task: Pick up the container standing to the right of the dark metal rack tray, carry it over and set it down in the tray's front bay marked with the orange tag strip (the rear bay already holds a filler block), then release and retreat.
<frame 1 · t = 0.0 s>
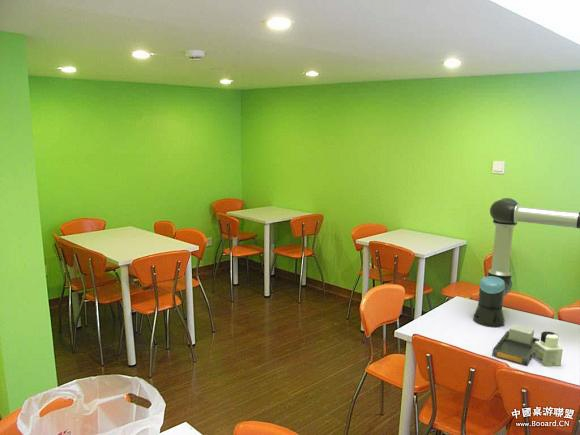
container: (546, 362, 195), on the table
filler block: (520, 344, 211), resting on rack tray
rack tray: (516, 350, 205), on the table
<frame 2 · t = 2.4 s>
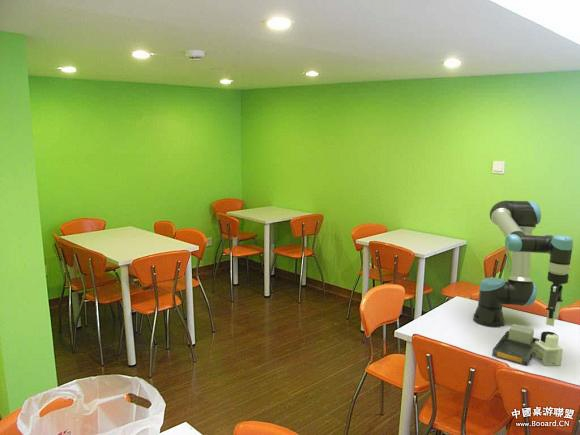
hand: (552, 320, 192), 19 cm above the table, fingers open, 13 cm apart
nothing on the table moved.
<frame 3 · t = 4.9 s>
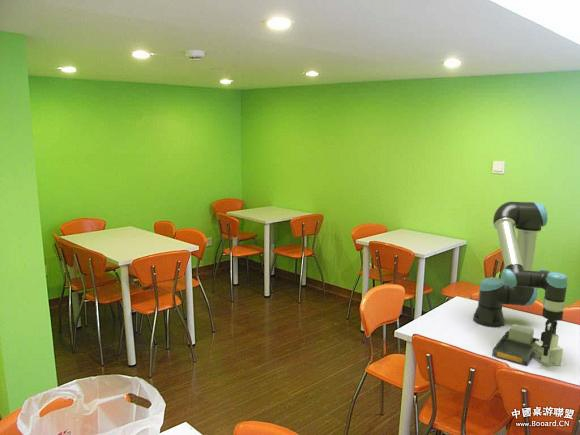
hand: (547, 357, 195), 2 cm above the table, fingers closed on container, 11 cm apart
container: (546, 361, 195), on the table, touching gripper
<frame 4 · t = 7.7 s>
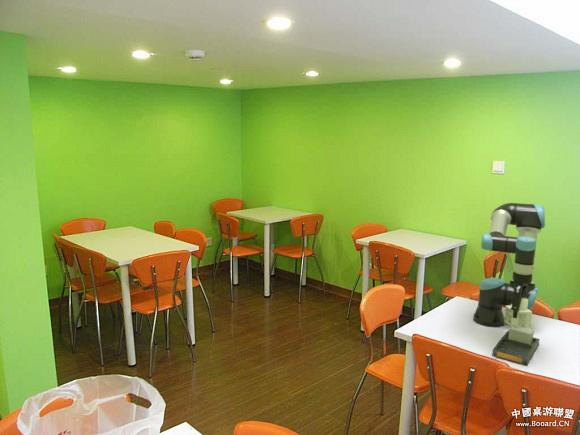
hand: (517, 320, 199), 16 cm above the table, fingers closed on container, 10 cm apart
container: (516, 325, 199), point 14 cm above the table, touching gripper
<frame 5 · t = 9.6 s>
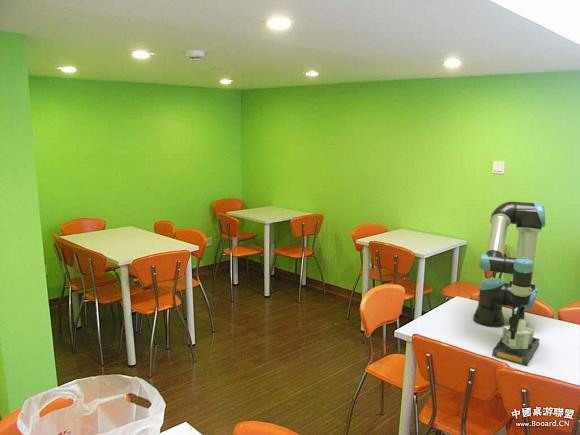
hand: (515, 341, 200), 6 cm above the table, fingers closed on container, 10 cm apart
container: (514, 345, 201), point 4 cm above the table, touching gripper
when the fingers open (5 cm above the table, at t = 10.9 s): container drops 1 cm, resting on rack tray.
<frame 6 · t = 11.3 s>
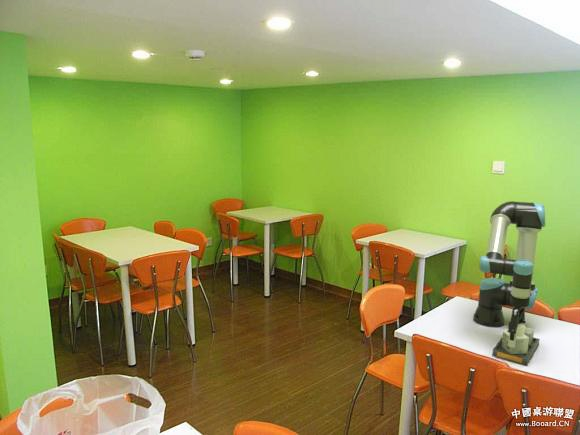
hand: (515, 341, 200), 6 cm above the table, fingers open, 13 cm apart
container: (514, 350, 201), point 2 cm above the table, touching rack tray
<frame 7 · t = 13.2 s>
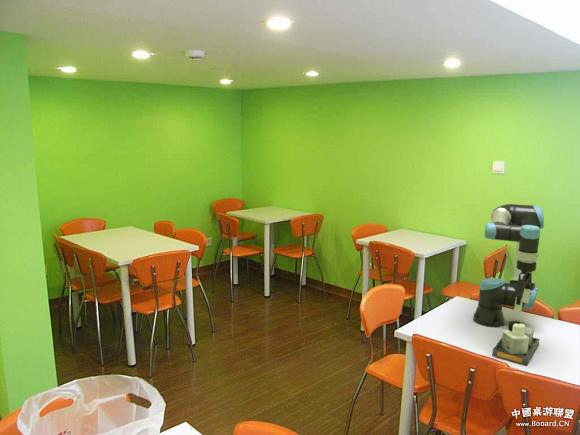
hand: (521, 306, 199), 22 cm above the table, fingers open, 13 cm apart
nothing on the table moved.
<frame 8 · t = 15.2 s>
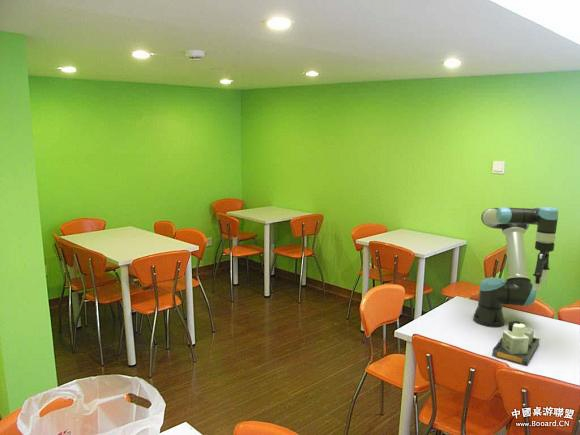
hand: (539, 286, 206), 29 cm above the table, fingers open, 13 cm apart
nothing on the table moved.
at the end: container inside the target area on the rack tray (0.0 cm from its centre), point 1.6 cm above the rack tray's base; container tilted 0°; the gripper is holding nothing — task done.
